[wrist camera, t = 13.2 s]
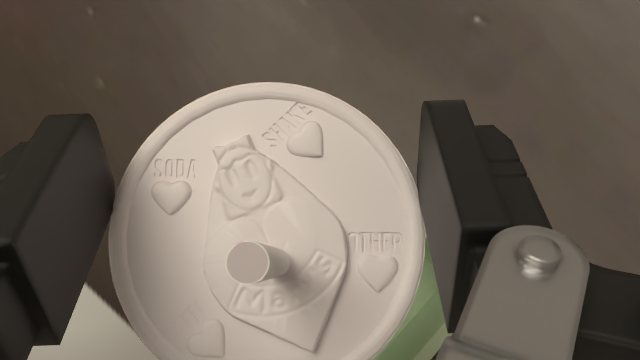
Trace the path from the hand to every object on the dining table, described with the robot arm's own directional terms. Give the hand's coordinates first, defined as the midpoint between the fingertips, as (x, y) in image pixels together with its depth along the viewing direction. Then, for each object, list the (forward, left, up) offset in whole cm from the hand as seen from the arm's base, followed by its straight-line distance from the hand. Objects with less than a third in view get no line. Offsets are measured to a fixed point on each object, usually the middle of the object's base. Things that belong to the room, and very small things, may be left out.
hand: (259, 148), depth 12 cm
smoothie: (-1, -2, -10) cm, 10 cm away
